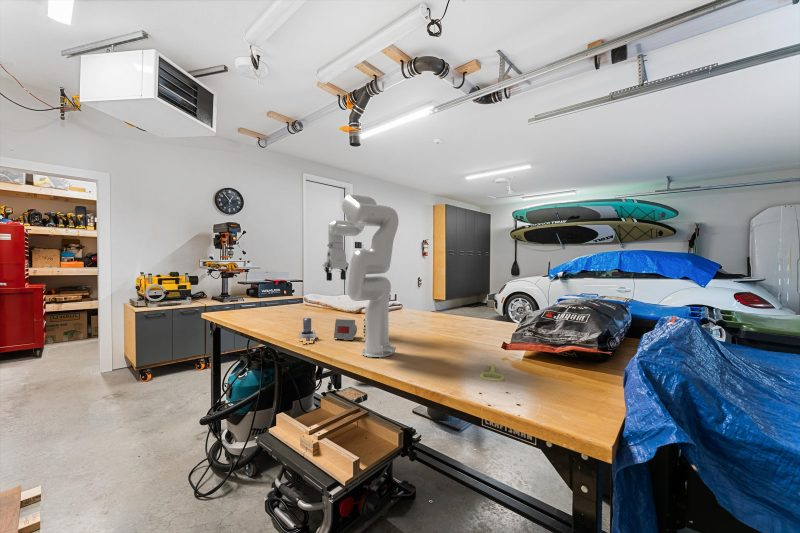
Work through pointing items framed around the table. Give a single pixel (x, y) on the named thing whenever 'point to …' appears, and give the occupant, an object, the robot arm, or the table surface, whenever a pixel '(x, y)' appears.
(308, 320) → the pin
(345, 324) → the voltmeter
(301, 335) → the chain ends
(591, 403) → the table surface
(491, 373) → the key
